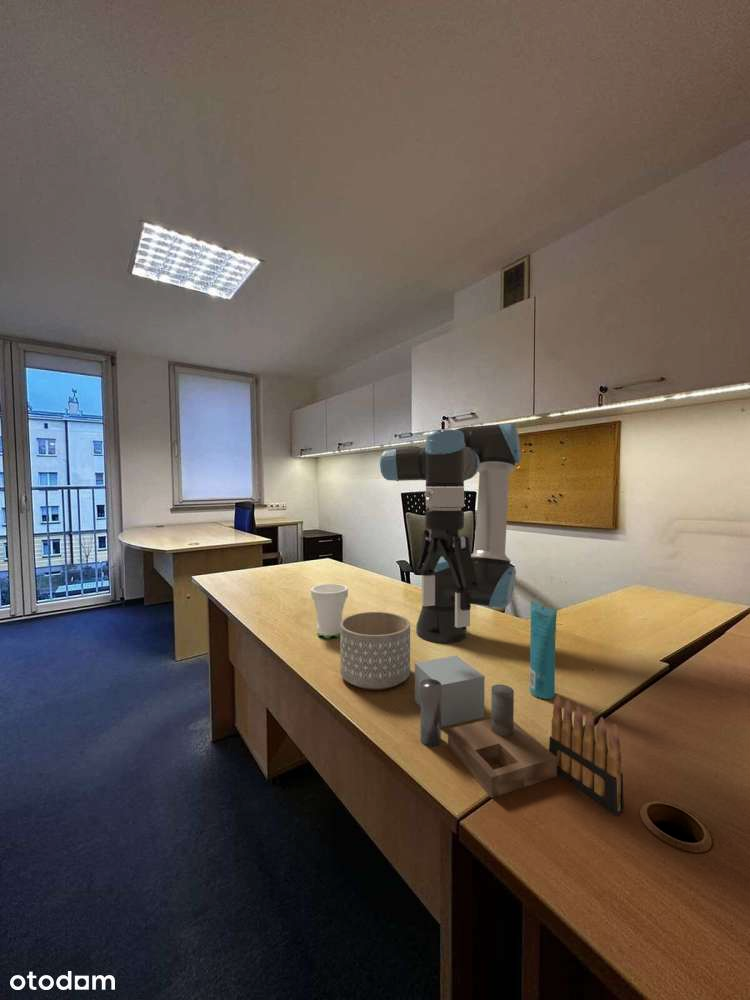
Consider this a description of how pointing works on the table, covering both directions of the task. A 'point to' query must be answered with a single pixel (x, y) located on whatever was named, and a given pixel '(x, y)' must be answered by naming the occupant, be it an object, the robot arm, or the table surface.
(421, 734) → the peg
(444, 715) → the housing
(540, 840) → the table surface
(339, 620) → the cup
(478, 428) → the robot arm
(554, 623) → the tube
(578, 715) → the ammunition clip
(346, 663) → the planter
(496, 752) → the socket board
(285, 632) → the table surface
